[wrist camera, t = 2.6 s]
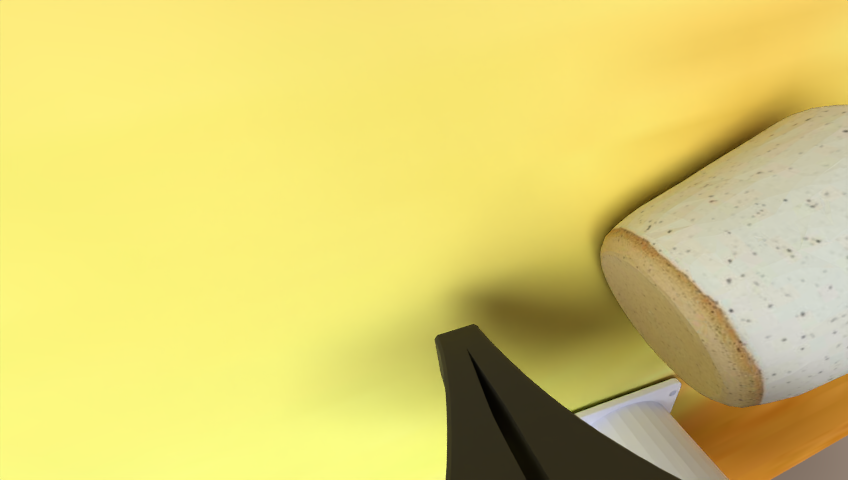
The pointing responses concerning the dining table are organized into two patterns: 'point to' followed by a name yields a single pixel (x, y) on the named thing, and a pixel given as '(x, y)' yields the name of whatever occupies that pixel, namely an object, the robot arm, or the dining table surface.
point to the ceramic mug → (746, 265)
